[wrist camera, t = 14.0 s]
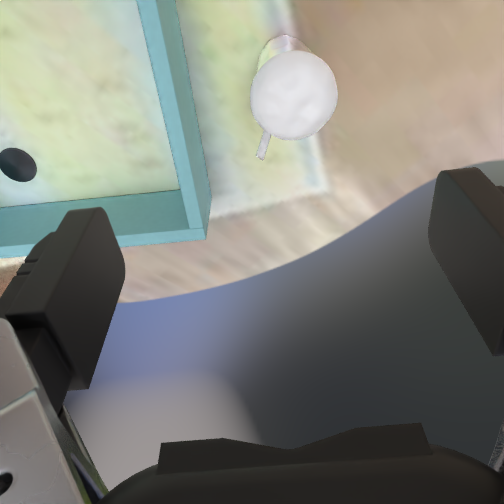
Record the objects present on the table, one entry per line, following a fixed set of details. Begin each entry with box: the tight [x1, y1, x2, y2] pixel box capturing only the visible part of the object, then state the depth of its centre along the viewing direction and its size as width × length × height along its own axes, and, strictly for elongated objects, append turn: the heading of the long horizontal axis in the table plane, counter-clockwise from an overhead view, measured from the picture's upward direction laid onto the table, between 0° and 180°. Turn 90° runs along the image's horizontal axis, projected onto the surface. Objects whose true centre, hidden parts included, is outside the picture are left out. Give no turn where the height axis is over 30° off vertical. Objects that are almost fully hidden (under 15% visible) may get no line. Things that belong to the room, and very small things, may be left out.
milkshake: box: [250, 35, 338, 160], centre depth 25 cm, size 5×5×10 cm
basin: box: [0, 0, 212, 258], centre depth 27 cm, size 19×19×6 cm
